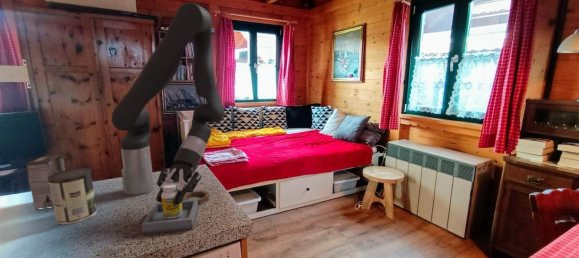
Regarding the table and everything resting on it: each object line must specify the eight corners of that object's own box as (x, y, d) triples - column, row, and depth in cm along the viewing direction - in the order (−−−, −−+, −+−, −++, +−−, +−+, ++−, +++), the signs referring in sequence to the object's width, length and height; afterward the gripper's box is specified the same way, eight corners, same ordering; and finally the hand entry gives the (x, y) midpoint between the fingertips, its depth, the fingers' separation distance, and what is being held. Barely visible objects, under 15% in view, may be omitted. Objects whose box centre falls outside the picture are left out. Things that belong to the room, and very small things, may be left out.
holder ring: (180, 206, 89) (180, 202, 89) (185, 195, 97) (184, 191, 97) (207, 203, 91) (207, 199, 91) (209, 193, 99) (209, 189, 99)
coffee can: (82, 206, 90) (76, 166, 87) (105, 211, 86) (99, 169, 84) (47, 221, 80) (38, 177, 78) (70, 227, 77) (62, 181, 74)
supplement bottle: (180, 208, 84) (177, 180, 82) (184, 215, 80) (181, 185, 78) (161, 213, 81) (158, 184, 79) (164, 221, 77) (161, 190, 75)
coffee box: (50, 198, 96) (42, 155, 93) (71, 196, 97) (64, 154, 94) (34, 210, 87) (24, 163, 84) (57, 208, 89) (49, 161, 86)
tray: (142, 234, 73) (141, 224, 73) (155, 211, 86) (155, 203, 85) (192, 229, 76) (191, 219, 75) (198, 207, 88) (197, 199, 88)
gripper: (166, 145, 86) (139, 195, 77) (204, 148, 82) (180, 202, 73) (179, 156, 92) (155, 204, 83) (214, 160, 88) (194, 210, 79)
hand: (167, 202), depth 78 cm, fingers closed on supplement bottle, 5 cm apart
